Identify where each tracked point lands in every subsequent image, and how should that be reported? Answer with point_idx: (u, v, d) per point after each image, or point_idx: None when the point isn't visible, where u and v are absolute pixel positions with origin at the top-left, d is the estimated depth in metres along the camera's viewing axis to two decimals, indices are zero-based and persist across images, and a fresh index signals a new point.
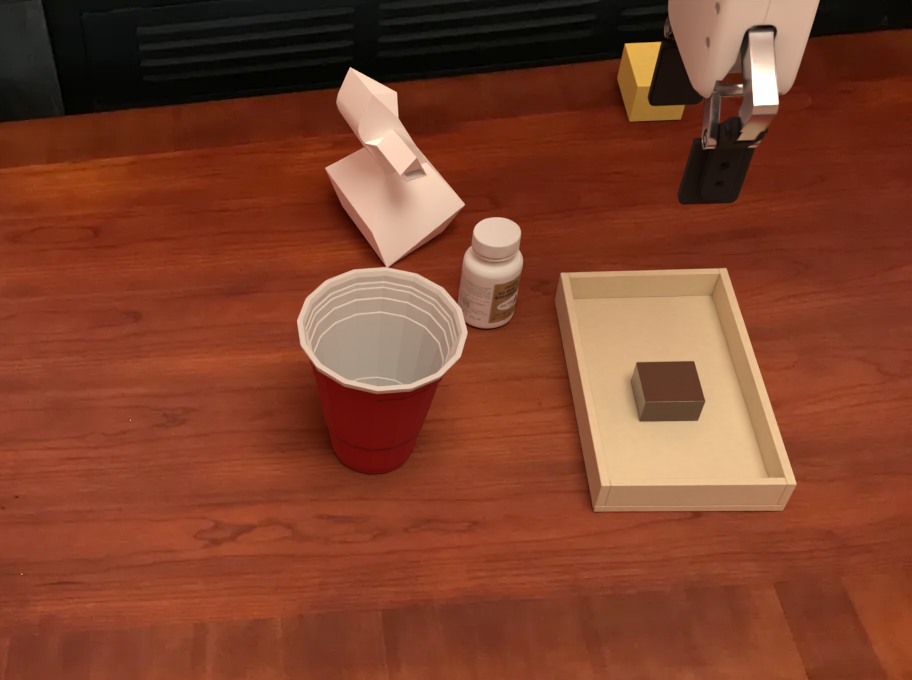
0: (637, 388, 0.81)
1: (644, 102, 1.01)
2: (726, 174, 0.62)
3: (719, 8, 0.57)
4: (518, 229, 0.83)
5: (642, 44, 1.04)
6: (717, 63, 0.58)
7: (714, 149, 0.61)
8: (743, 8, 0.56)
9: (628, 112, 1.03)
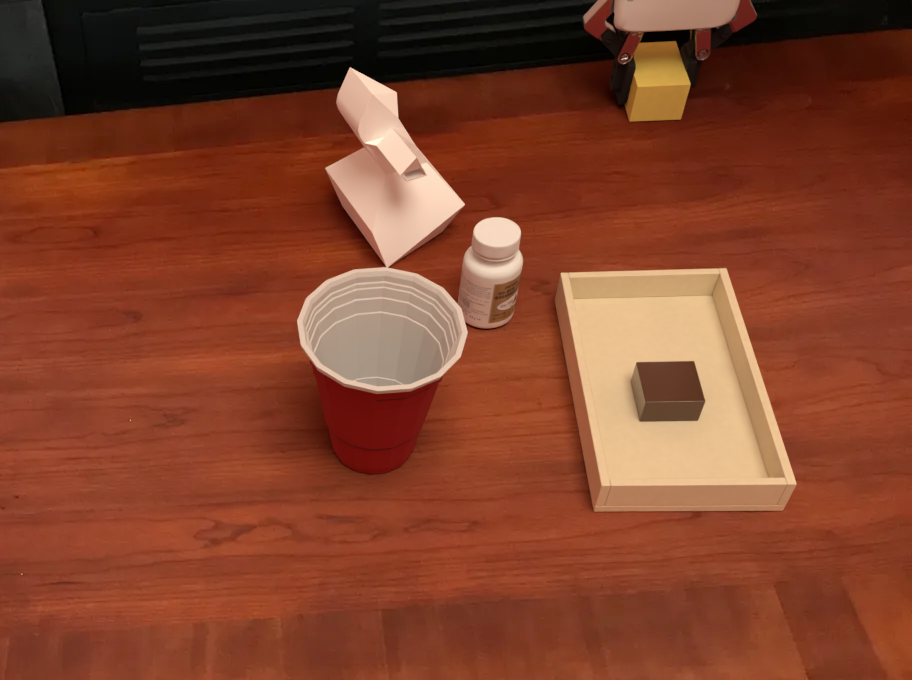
0: (637, 388, 0.81)
1: (644, 102, 1.01)
2: None
3: None
4: (518, 229, 0.83)
5: (642, 44, 1.04)
6: None
7: None
8: None
9: (628, 112, 1.03)
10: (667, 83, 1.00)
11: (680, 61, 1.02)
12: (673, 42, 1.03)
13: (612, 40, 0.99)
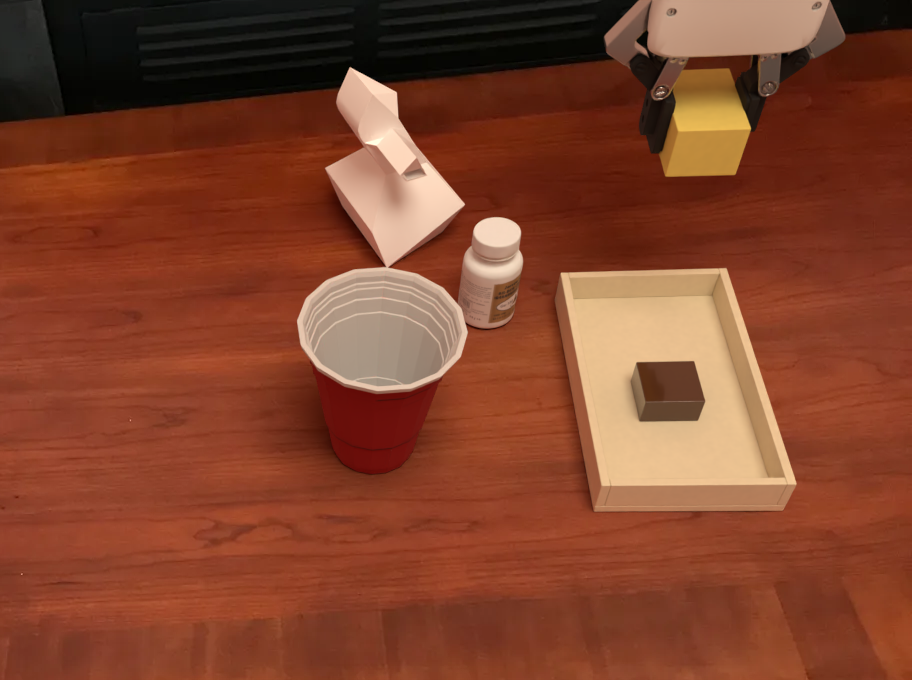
0: (637, 388, 0.81)
1: (686, 151, 0.74)
2: None
3: None
4: (518, 229, 0.83)
5: (684, 72, 0.77)
6: (824, 12, 0.68)
7: None
8: None
9: (664, 164, 0.76)
10: (718, 126, 0.73)
11: (735, 96, 0.75)
12: (726, 70, 0.77)
13: (644, 68, 0.73)
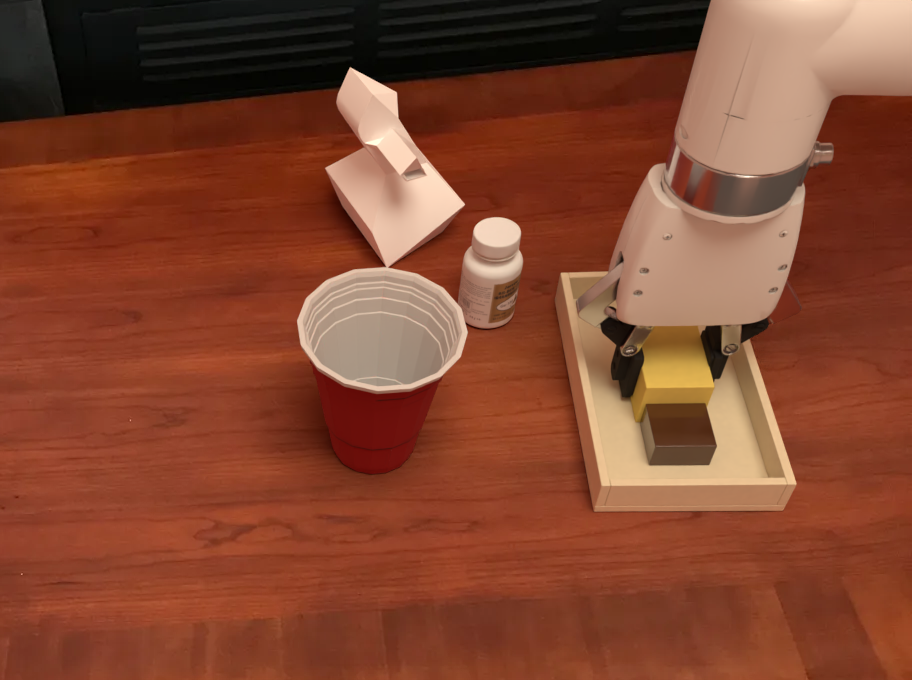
0: (647, 430, 0.79)
1: (654, 403, 0.79)
2: None
3: (784, 266, 0.71)
4: (518, 229, 0.83)
5: None
6: (781, 293, 0.73)
7: None
8: None
9: (634, 409, 0.81)
10: (684, 384, 0.78)
11: (701, 349, 0.80)
12: None
13: (614, 330, 0.77)
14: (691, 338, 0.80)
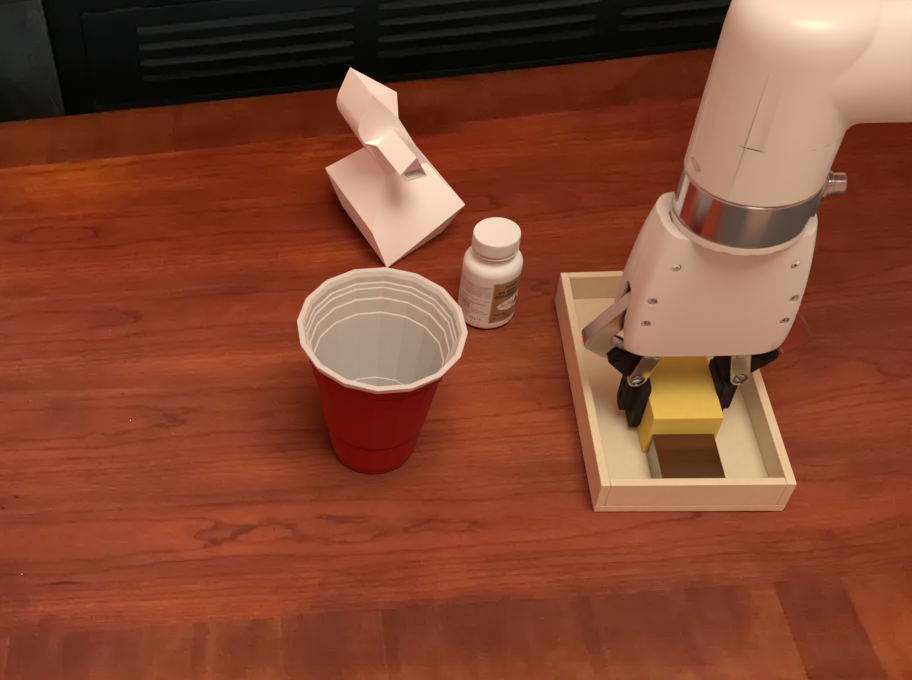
0: (653, 462, 0.77)
1: None
2: None
3: (796, 297, 0.69)
4: (518, 229, 0.83)
5: None
6: (792, 323, 0.71)
7: None
8: None
9: (641, 440, 0.79)
10: (693, 415, 0.76)
11: (709, 379, 0.78)
12: None
13: (621, 360, 0.76)
14: (699, 367, 0.79)
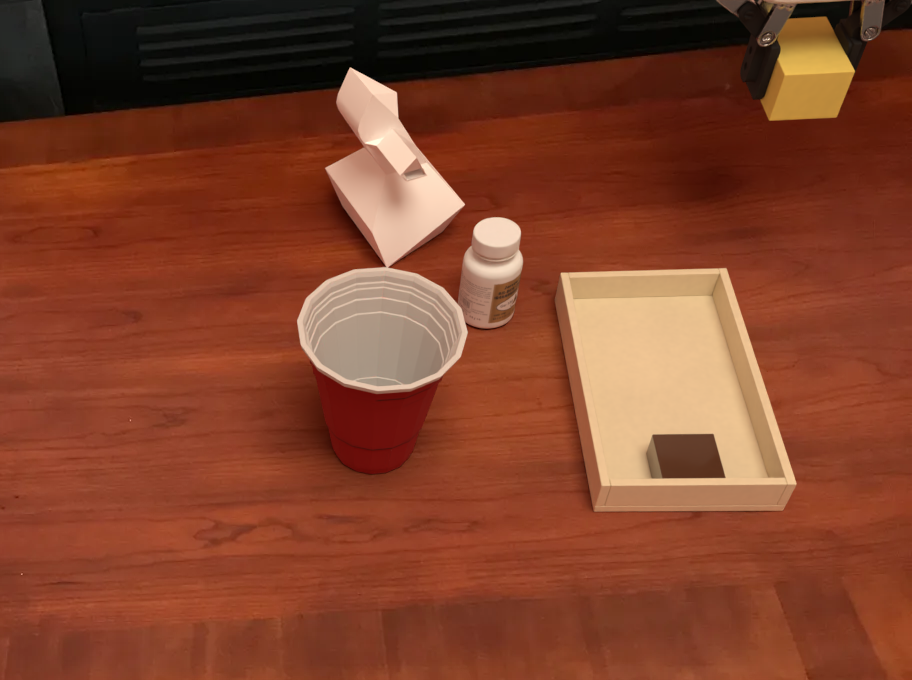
0: (654, 462, 0.77)
1: (791, 95, 0.78)
2: None
3: None
4: (518, 229, 0.83)
5: None
6: None
7: (869, 35, 0.77)
8: None
9: (767, 108, 0.80)
10: (823, 70, 0.77)
11: (836, 42, 0.78)
12: (823, 18, 0.80)
13: (752, 15, 0.76)
14: (825, 33, 0.79)
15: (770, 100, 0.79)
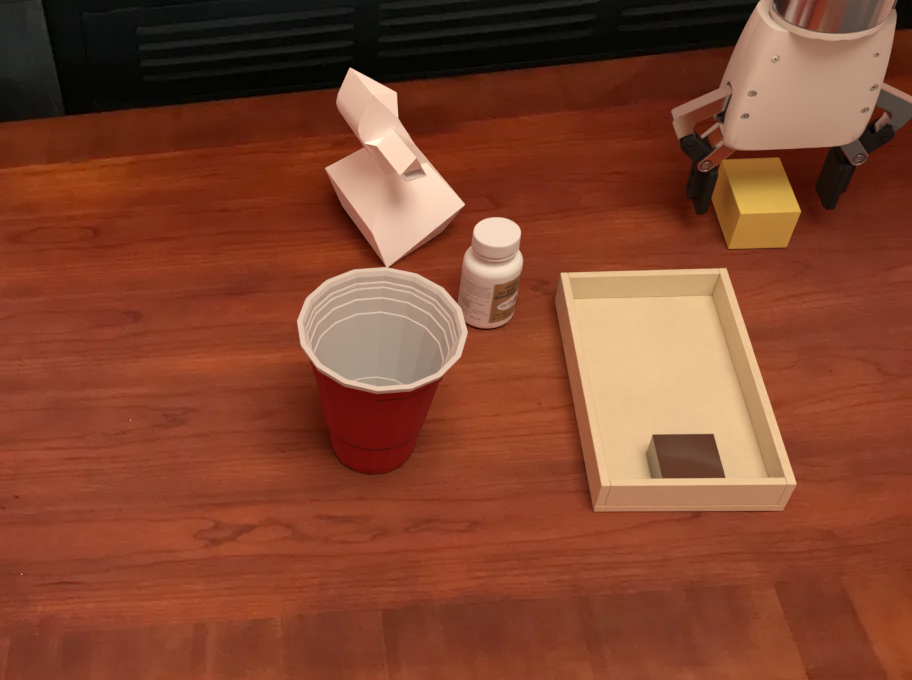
0: (654, 462, 0.77)
1: (746, 229, 0.90)
2: None
3: (876, 86, 0.81)
4: (518, 229, 0.83)
5: (741, 161, 0.92)
6: None
7: None
8: None
9: (727, 238, 0.92)
10: (774, 210, 0.89)
11: (786, 183, 0.90)
12: (777, 159, 0.92)
13: (692, 146, 0.87)
14: (777, 174, 0.91)
15: (729, 232, 0.91)
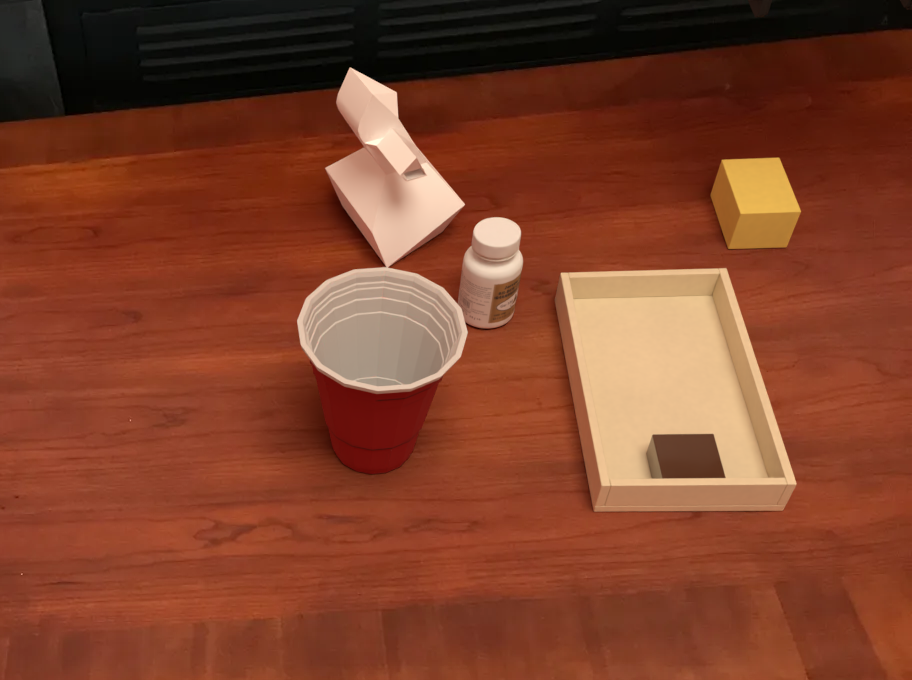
0: (654, 462, 0.77)
1: (746, 229, 0.90)
2: None
3: None
4: (518, 229, 0.83)
5: (741, 161, 0.92)
6: None
7: None
8: None
9: (727, 238, 0.92)
10: (774, 210, 0.89)
11: (786, 183, 0.90)
12: (777, 159, 0.92)
13: None
14: (777, 174, 0.91)
15: (729, 232, 0.91)
